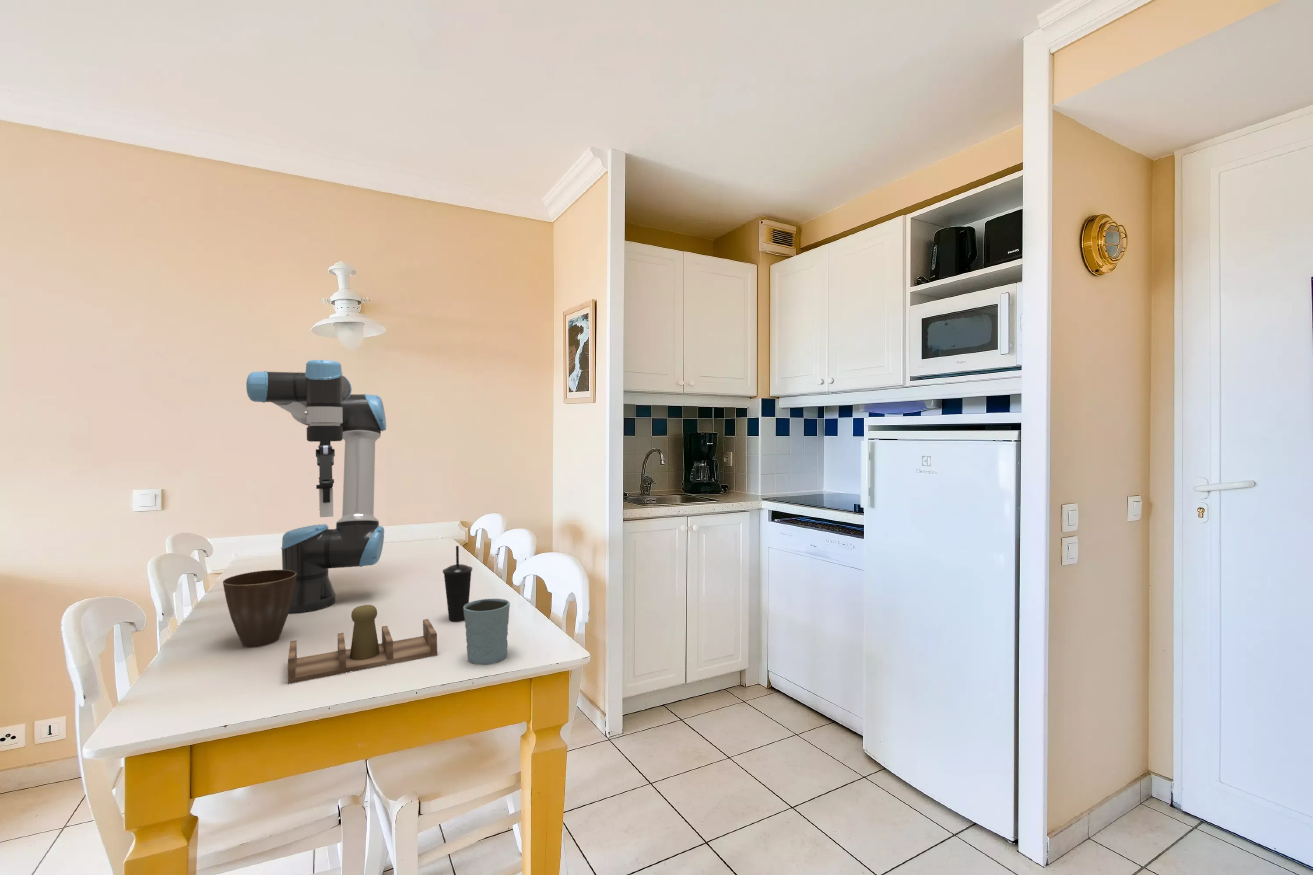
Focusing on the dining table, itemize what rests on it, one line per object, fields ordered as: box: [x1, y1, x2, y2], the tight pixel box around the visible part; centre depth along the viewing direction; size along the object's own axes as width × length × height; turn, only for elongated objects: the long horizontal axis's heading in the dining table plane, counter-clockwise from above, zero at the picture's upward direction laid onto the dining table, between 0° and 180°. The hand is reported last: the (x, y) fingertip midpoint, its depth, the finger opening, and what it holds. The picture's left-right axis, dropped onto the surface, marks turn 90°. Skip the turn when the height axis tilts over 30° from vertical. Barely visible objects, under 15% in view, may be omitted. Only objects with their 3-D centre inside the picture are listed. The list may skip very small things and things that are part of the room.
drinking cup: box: [442, 545, 473, 623], centre depth 158 cm, size 8×8×20 cm
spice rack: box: [287, 618, 438, 685], centre depth 131 cm, size 12×29×5 cm, turn 120°
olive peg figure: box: [350, 604, 380, 660], centre depth 131 cm, size 6×6×11 cm
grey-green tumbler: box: [463, 598, 511, 666], centre depth 132 cm, size 10×10×12 cm
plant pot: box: [222, 569, 297, 648], centre depth 143 cm, size 15×15×16 cm
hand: (326, 513), depth 140 cm, fingers open, 13 cm apart
